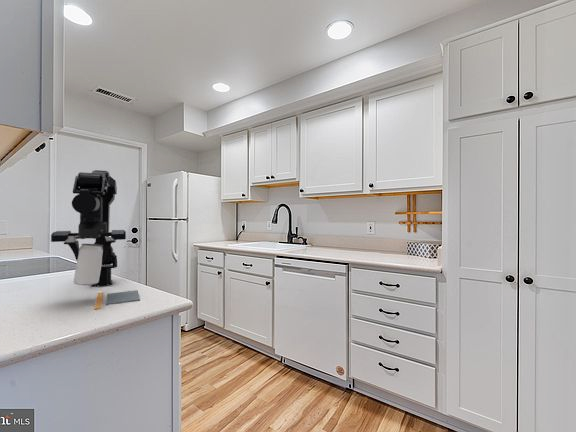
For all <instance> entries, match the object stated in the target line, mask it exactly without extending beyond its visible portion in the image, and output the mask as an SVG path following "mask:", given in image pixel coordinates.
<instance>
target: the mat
mask: <svg viewBox="0 0 576 432" xmlns="http://www.w3.org/2000/svg"><path fill="white" fill-rule="evenodd" d="M138 291H139V290H137V289H136V290H135V289H134V290H128V291H121V292H120V291H119V292H118V291H117V292H112V293H110V292H109V293H106V294H107V295H106V302H105V305H106V306H109V305H116V304H118V305H119V304H124V303H133V302H138V301H139V302H140V301H141V298H140V294H139V292H138Z"/></svg>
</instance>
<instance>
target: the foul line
mask: <svg viewBox="0 0 576 432" xmlns="http://www.w3.org/2000/svg"><path fill="white" fill-rule="evenodd" d="M103 298H104V291H103V292H102V291H101V292H97V296H96V300H95V306H94V308H93V309H94V310H96V311H97V310H101V309H102V303H103Z"/></svg>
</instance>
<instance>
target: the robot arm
mask: <svg viewBox="0 0 576 432" xmlns="http://www.w3.org/2000/svg"><path fill="white" fill-rule="evenodd" d="M117 189H118V188H117V182H116V180H115V179H114V178H113V177H112V176H111V175H110V171H108V170H98V169H95V170H92V171H91V172H78V174H77V175H75V177H74V184H73V188H72V194H74V195H75V196H73V198H72V200H71V207H72V209H73V210H74V211H75V212H77V213H79V224H78V226H77V227H78V232H72V231H71V230H56V231H53V232H52V233H51V235H50V242H52V243H53V242H54V243H57V242H62V243H63V244H64V245H68V247H69V248H70V249H71V251H72V253H73V255H74V257H75V260H76V261H77V259H78V255H79V248H80V245H79V240H85V239H95V242H94V243H93V244H99V245H103V256H102V265H101V271H100V277H99V282H98V283H97V284H94V285H91V287H100V286H111V285H113V279H112V269H116V268H118V255H116V252H114V248H113V246H112V244H113V243H116V242H117V240H118V241H119V240H121V241H123V240H126V239H127V236H126V235H127V233H126V230H125V229H112V230H111V232H110V217H111V216H110V214H111V212H110V211H111V209H110V208H111V205H112V203H113V202H114V201H115V199H116V198H115V197H116V195H117V193H118V191H117ZM76 194H77V195H76Z"/></svg>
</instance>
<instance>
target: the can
mask: <svg viewBox="0 0 576 432" xmlns="http://www.w3.org/2000/svg"><path fill="white" fill-rule="evenodd" d="M102 256H103V245H99V244H94V243H81V246H79V255H78V259H77V260H76V265H75V270H74V278H73V283H74V284H75V285H78V286H79V285H80V286H81V285H82V286H92V285H94V284H97V283H98V282H99V277H100V271H101V265H102Z"/></svg>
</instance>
